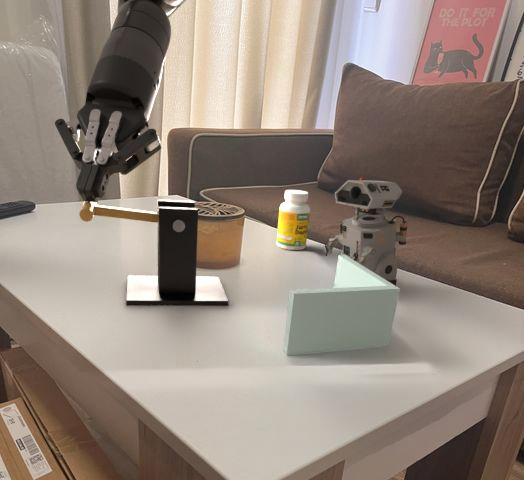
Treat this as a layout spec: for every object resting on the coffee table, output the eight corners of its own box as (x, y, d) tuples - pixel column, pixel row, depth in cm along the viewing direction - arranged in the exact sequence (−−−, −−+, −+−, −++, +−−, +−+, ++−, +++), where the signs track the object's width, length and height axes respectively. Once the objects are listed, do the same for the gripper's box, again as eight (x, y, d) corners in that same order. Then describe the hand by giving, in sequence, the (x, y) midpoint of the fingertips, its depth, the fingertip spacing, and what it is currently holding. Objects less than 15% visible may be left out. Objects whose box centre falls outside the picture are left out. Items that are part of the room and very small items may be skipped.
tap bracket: (126, 312, 61) (123, 210, 56) (127, 286, 69) (125, 194, 64) (227, 312, 64) (234, 215, 59) (218, 287, 72) (222, 199, 67)
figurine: (306, 277, 79) (319, 173, 72) (362, 269, 85) (380, 173, 78) (345, 297, 72) (364, 185, 66) (403, 288, 78) (426, 184, 72)
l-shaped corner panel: (335, 311, 67) (344, 254, 64) (386, 353, 57) (400, 288, 54) (247, 316, 63) (252, 256, 60) (285, 363, 53) (294, 293, 50)
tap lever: (79, 225, 57) (79, 203, 56) (84, 213, 62) (84, 192, 61) (190, 237, 60) (192, 217, 59) (185, 225, 66) (187, 205, 65)
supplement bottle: (287, 240, 97) (292, 187, 93) (311, 247, 95) (318, 193, 90) (269, 245, 93) (275, 190, 89) (294, 252, 91) (301, 195, 86)
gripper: (63, 48, 62) (16, 169, 56) (172, 58, 60) (134, 183, 55) (87, 98, 69) (47, 210, 63) (184, 108, 67) (152, 223, 62)
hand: (87, 197), depth 59 cm, fingers closed
